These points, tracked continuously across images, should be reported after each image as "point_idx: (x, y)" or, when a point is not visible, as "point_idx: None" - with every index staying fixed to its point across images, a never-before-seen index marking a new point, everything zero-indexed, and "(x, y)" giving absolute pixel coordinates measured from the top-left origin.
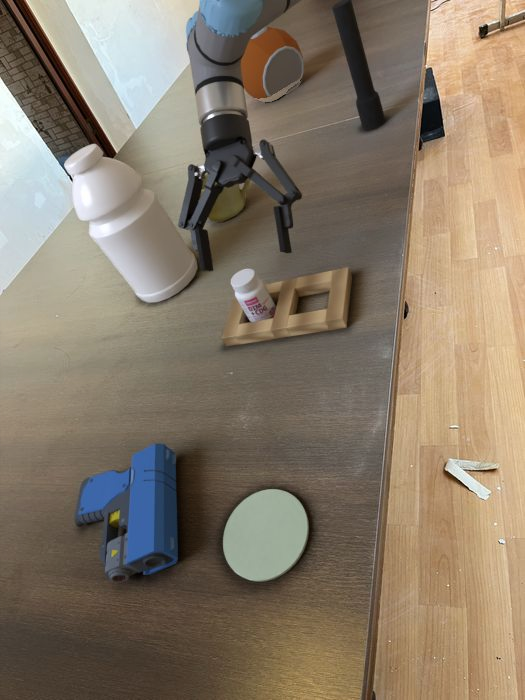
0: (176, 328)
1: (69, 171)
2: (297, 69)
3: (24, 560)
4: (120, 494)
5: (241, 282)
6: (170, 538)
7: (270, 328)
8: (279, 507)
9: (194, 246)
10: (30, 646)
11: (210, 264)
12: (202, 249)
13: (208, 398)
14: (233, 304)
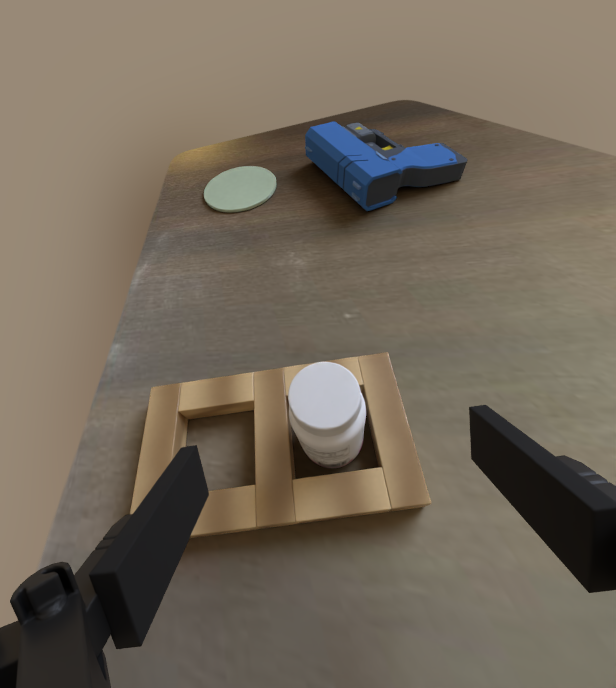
0: (570, 416)
1: None
2: None
3: (482, 131)
4: (393, 155)
5: (317, 372)
6: (311, 150)
7: (284, 370)
8: (229, 200)
9: (575, 465)
10: (410, 111)
11: (481, 456)
12: (512, 448)
13: (366, 278)
14: (410, 446)
